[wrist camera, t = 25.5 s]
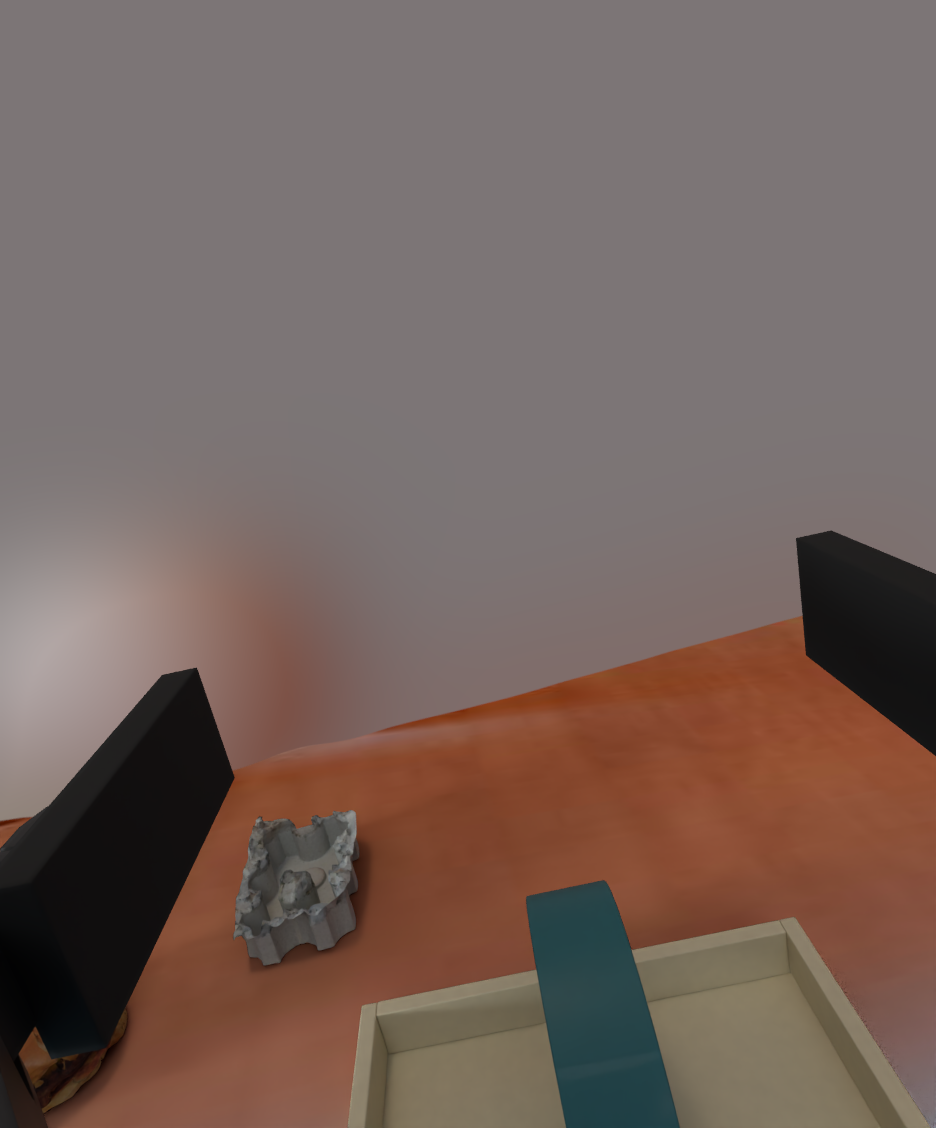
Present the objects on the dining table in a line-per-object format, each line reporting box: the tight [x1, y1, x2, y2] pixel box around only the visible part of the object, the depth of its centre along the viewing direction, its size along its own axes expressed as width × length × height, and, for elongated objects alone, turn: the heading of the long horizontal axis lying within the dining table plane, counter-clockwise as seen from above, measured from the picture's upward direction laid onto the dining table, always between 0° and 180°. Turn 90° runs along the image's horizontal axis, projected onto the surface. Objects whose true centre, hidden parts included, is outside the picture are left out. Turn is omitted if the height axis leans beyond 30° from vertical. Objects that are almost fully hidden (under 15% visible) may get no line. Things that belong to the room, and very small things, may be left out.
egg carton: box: [233, 810, 359, 965], centre depth 47 cm, size 11×8×4 cm
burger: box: [19, 1009, 127, 1113], centre depth 39 cm, size 10×9×5 cm
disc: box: [526, 880, 680, 1128], centre depth 26 cm, size 12×3×12 cm, turn 3°
